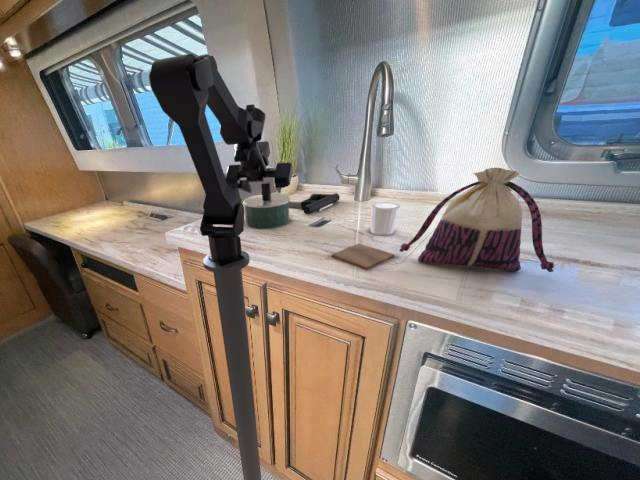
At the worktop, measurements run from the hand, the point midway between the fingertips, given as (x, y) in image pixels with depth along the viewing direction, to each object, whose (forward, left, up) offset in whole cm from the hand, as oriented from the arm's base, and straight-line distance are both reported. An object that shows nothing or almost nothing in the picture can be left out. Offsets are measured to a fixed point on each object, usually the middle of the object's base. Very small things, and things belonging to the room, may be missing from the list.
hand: (265, 191), depth 94 cm
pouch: (+9, -55, -10) cm, 56 cm away
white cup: (+16, -31, -10) cm, 36 cm away
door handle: (+21, +3, -10) cm, 24 cm away
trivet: (-1, -38, -9) cm, 39 cm away
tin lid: (+1, 0, -3) cm, 3 cm away
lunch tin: (+1, 0, -9) cm, 9 cm away
